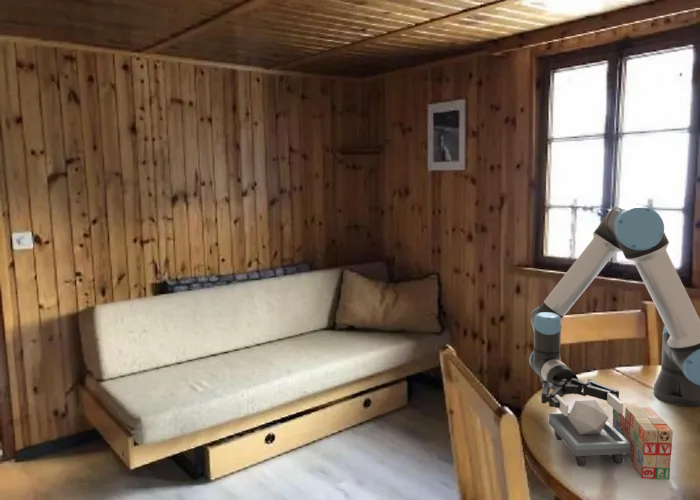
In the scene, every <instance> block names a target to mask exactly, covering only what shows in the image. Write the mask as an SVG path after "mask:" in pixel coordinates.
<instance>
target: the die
mask: <svg viewBox="0 0 700 500" xmlns="http://www.w3.org/2000/svg"><path fill="white" fill-rule="evenodd" d="M569 413H570V414H569V416H568V418H569V420H570V421H571V423H572V424H573V426H574V427H575V429H576V430H577V431H578V433H579V434H580V435H590V434H600V433H601V431H602V429H603V427H604V425H605V423H606V421H607V422H608V420H609V416H608V414H607V413H606V412H605V411H604V409H603V408H602V407H601V405H600V404H599V403H598V401H597V400H575V402H574V403H573V406H572V408H571V410H570V412H569Z"/></svg>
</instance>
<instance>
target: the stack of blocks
mask: <svg viewBox="0 0 700 500" xmlns="http://www.w3.org/2000/svg"><path fill="white" fill-rule="evenodd" d="M622 403H623V402H622ZM612 426H613V427H614V428H615V429H616V430H617V431H618V432H619V433H620V434H621V435H622V436H623V437H624V438H625V439H627V440H628V441H629V442H630V454H625V455H626V457H627V458H628V460H629V462H630V463H631V464H632V467H633V468H634V469H635V471H636V472H637V474H638V476H639V477H640V478H641V479H644V480H645V479H647V480H648V479H650V480H670V475H671V461H672V460H671V459H672V453H673V452H672V451H673V438H674V437H673V436H674V431H673V429H672V428H671V427H670V426H669V425H668V423H667V422H666V421H665V420H664V418H662V417H661V416H660V415H659V414H658V413H657V412H656V411H655V410H654V409H653V408H652V407H651V406H649V407H647V406H646V407H645V406H640V405H639V404H638V403H637V402H636V403H634V402H632V403H631V402H624V403H623V414H619V413H618V412H617V411H616V410H615V409H614V408H612Z"/></svg>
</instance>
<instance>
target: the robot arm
mask: <svg viewBox="0 0 700 500" xmlns="http://www.w3.org/2000/svg"><path fill="white" fill-rule="evenodd" d="M592 235H593V239H592V240H591V241H590V242H589V243H588V244H587V245H586V247H585V248H584V250H583V251H582V252H581V254H580V255H579V256H578V258H577V259H576V260H575V261H574V262H573V263H572V265H571V266H570V267H569V268H568V270H567V271H566V273H565V274H564V275H563V277H561V279H560V280H559V282H558V283H557V284H556V285H555V287H554V288H553V289H552V290H551V292H550V293H549V294H548V295H547V297H545V299H544V301H542V302H541V305H540V306H538V307H536V308H535V309H533V310H532V311H531V314H530V324H531V326H532V331H533V351H531V353H530V355H529V358H528V361H529V365H530V367H531V369H532V370H533V372H534V373H535V374H537V375H538V377H540V378H541V379H542V391H541V404H547V403H548V406H549V408H553V407H554V408H555V409H558V411H560V412H561V413H563V414H564V415H565V416H568V413H569V404H568V403H566V402H565V400H564V399H563V397H564V396H566V395H580V396H583V397H586V396H589V397H592V398H595V399H596V398H597V399H599V400H602V401H606V403H607V405H609V406H610V407H611V409H613V408H614V409H615V410H616V411H617V412H618V413H619V414H623V402H622V401H621V399H620V391H619V390H618V389H616V388H613V387H610V386H607V385H604V384H602V383H599V382H598V381H595V380H593V379H592V378H588V379H587V381H583V380H581V379H579V378H578V376H577V374H576V373H575V372H574V371H573V370H572V369H571V368H570V367H569V366H567V365H566V364H565V363H564V362H563V361H561V339H562V338H561V336H562V333H561V332H562V327H563V326H562V319H563V318H564V317H565V315H566V314H567V313H569V310H570V309H571V308H572V307H573V305H574V304H575V303H576V301H578V299H579V298H581V296H582V294H583V293H584V292H585V291H586V289H587V288H588V287H589V286H590V285H591V284H592V282H593V281H594V280H595V279H596V277H597V276H598V275H599V274H600V273H601V271H602V270H603V269H604V267H605V266H606V265H608V262H609V261H611V259H612V258H613V257H614V255H615V254H616V253H620V252H622V253H623V255H624V258H625V259H626V260H628V261H630V262H633V263H634V266H635V267H636V269H637V271H638V273H639V276H640V277H641V279H642V282H643V284H644V285H645V287H646V289H647V291H648V294H649V295H650V298H651V299H652V301H653V304H654V306H655V308H656V310H657V311H658V314H659V316H660V318H661V319H662V322H663V324H664V326H663V331H662V349H661V350H662V351H661V367H660V371H659V374H658V376H657V378H656V380H655V383H654V385H653V394H654V396H655V397H657V398H658V399H660V400H662V401H665V402H666V403H671V404H673V405H679V406H683V407H684V406H685V407H700V316H699V314H698V313H697V311H696V309H695V307H694V304H693V302H692V300H691V299H690V296H689V294H688V293H687V290H686V288H685V286H684V284H683V283H682V279H681V278H680V276H679V274H678V272H677V270H676V268H675V265H674V263H673V262H672V260H671V257H670V255H669V253H668V251H667V248H668V246H669V244H670V242H669V239H668V237H667V235H666V232H665V224H664V221H663V218H662V217H661V215H660V214H659V213H658V212H657V211H656V210H655V209H654V208H651V207H650V206H647V205H643V204H638V203H635V202H622V203H620V204H617V205H615V206H614V207H612V208H611V210H609V211H608V213H607V214H606V215H605V216H604V218H603V219H602V220H601V222H600V223H599V225H598V226H597V227H596V229H595V230H594V232H593V234H592ZM551 390H552V391H551ZM549 392H550V393H549Z"/></svg>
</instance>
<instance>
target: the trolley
mask: <svg viewBox="0 0 700 500" xmlns="http://www.w3.org/2000/svg"><path fill="white" fill-rule="evenodd" d="M569 414H570V412H568V416H569ZM568 416H565V415H564V414H563V413H562V412H561V413H549V414H548V424H549V425H550V427H551V428H552V430H553V432H554V436H555V439H556V440H557V441H561V440H562V441H563V442H564V444H565V445H566V446H567V447H568V448H569V449H570V451H571V452H572V453H573V454H574V460H575V463H576V465H577V464H578V465H577V466H578V467H585V466H586V465H587V456H588V457H589V456H604V455H605V456H606V455H607V456H608V455H610V457H611V460H612V462H613V464H614V465H622V464H623V463H624V455H626V454H630V442H629V441H628V440H627V439H625V438H624V437H623V436H622V435H621V434H620V433H619V432H618V431H617V430H616V429H615V428H614V427H613V424H610V423H609V422H608V420H607V421H606V423H605V425H604V427H603V429H602V431H601V433H600V434H590V435H580V434H579V433H578V431H577V430H576V429H575V427H574V426H573V424H572V423H571V421H570V420H569V418H568Z"/></svg>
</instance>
